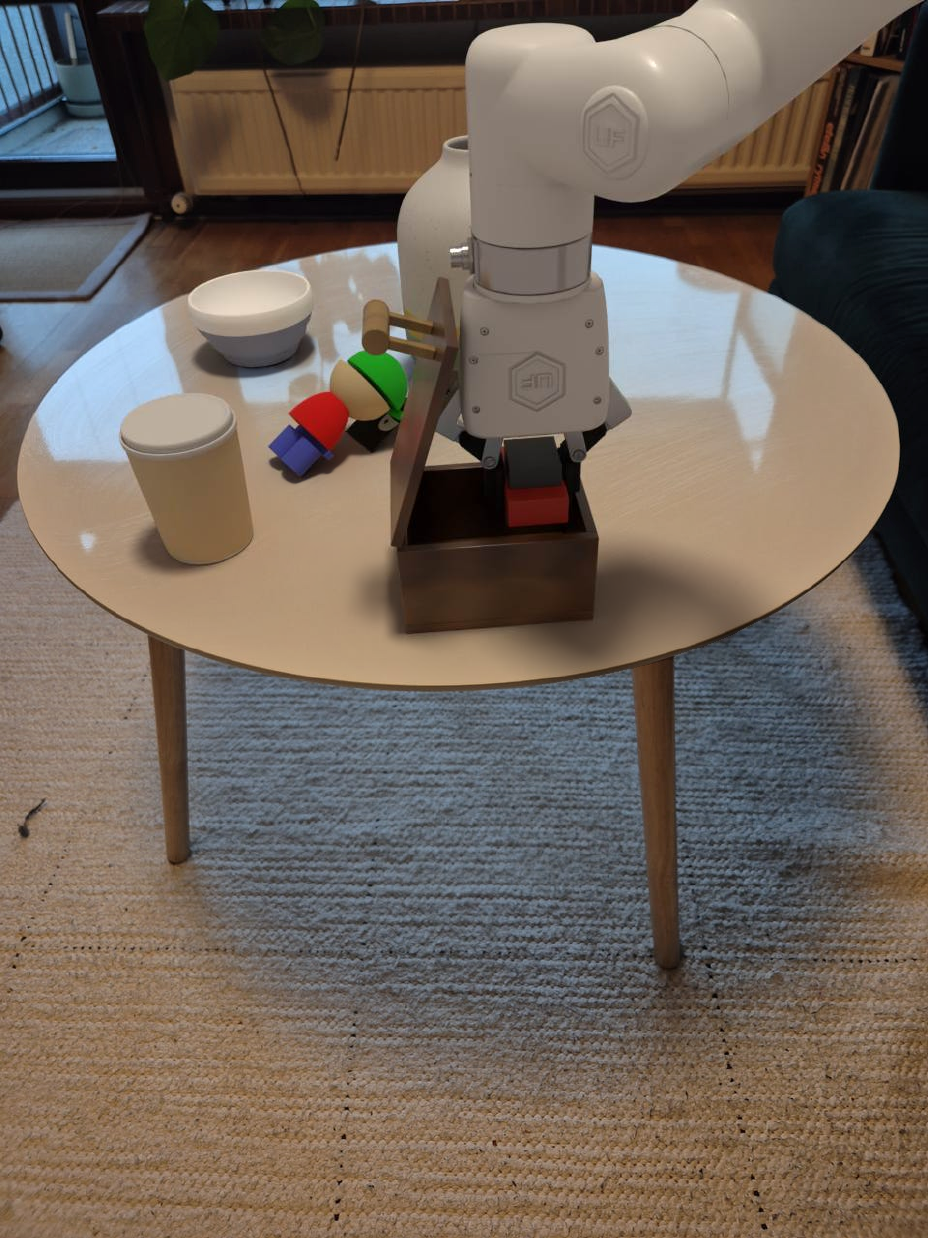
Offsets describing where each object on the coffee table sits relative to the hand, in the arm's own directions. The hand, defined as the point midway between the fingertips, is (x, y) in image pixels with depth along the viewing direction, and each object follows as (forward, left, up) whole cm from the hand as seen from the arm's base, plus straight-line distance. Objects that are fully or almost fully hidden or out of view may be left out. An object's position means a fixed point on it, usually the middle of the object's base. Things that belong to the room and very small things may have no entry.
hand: (531, 499), depth 68 cm
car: (0, 0, 0) cm, 0 cm away
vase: (+18, -34, -8) cm, 39 cm away
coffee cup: (+29, +4, -8) cm, 30 cm away
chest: (+3, +1, -8) cm, 8 cm away
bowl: (+46, -31, -8) cm, 56 cm away
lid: (+7, +3, +8) cm, 11 cm away
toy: (+25, -14, -8) cm, 29 cm away
